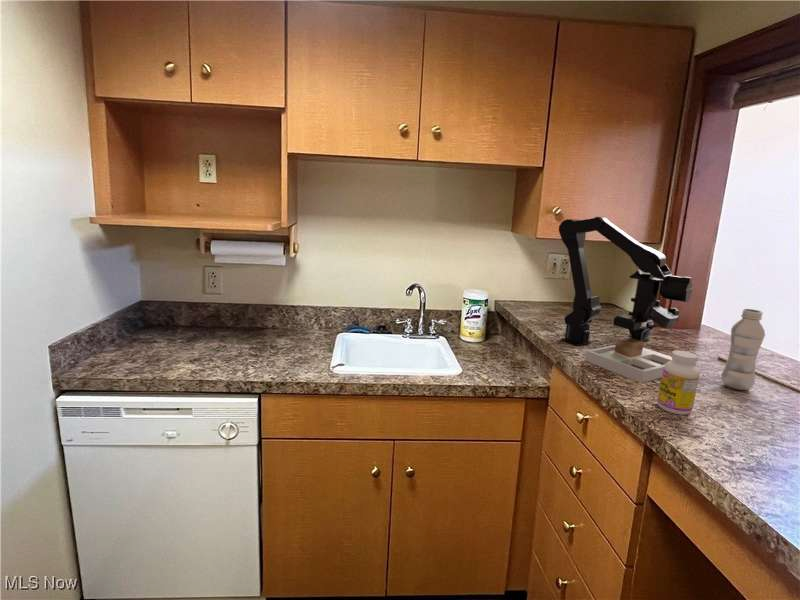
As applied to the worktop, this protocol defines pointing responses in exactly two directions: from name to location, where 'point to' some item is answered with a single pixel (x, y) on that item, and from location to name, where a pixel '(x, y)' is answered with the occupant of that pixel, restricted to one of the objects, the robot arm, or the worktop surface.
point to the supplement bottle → (679, 383)
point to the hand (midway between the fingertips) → (637, 347)
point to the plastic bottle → (744, 351)
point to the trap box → (630, 363)
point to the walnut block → (629, 346)
